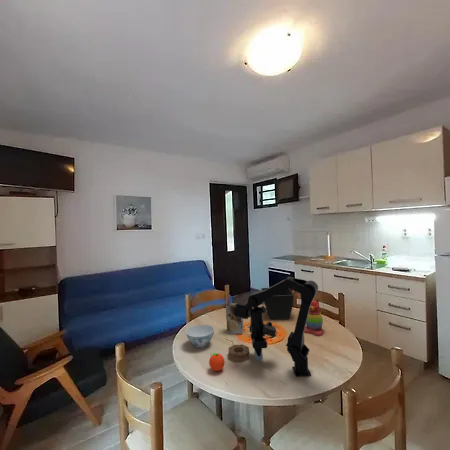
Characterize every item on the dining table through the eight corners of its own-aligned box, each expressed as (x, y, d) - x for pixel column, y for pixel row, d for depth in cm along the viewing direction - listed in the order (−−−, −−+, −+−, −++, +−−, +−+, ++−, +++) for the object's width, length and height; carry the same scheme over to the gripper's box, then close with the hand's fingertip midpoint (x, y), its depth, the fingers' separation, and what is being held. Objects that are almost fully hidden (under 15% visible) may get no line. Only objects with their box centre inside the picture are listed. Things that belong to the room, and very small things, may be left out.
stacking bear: (301, 332, 147) (300, 301, 147) (308, 325, 155) (307, 296, 154) (320, 337, 140) (318, 304, 140) (326, 330, 148) (325, 299, 147)
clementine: (204, 369, 115) (203, 353, 115) (216, 362, 120) (215, 347, 120) (216, 376, 110) (216, 360, 109) (228, 369, 114) (227, 353, 114)
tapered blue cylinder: (263, 360, 117) (262, 341, 117) (255, 360, 117) (254, 341, 117) (262, 356, 121) (261, 337, 121) (254, 356, 121) (253, 337, 121)
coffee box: (244, 329, 154) (242, 303, 154) (242, 334, 148) (240, 306, 148) (229, 328, 156) (227, 302, 156) (226, 333, 150) (225, 306, 150)
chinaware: (194, 355, 128) (193, 339, 128) (182, 343, 141) (181, 329, 140) (220, 345, 136) (219, 331, 136) (206, 335, 149) (205, 322, 149)
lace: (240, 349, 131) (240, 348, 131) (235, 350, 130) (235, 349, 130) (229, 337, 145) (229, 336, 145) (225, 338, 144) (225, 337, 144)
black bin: (265, 322, 164) (264, 295, 163) (262, 311, 182) (261, 287, 182) (295, 321, 163) (294, 294, 162) (289, 310, 182) (288, 286, 181)
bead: (250, 361, 120) (249, 354, 120) (228, 361, 120) (228, 355, 120) (248, 350, 130) (248, 344, 130) (228, 350, 130) (228, 345, 130)
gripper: (278, 328, 109) (280, 364, 109) (271, 312, 128) (272, 343, 128) (252, 329, 109) (253, 365, 110) (248, 313, 128) (250, 344, 128)
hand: (258, 353), depth 119 cm, fingers closed on tapered blue cylinder, 4 cm apart
